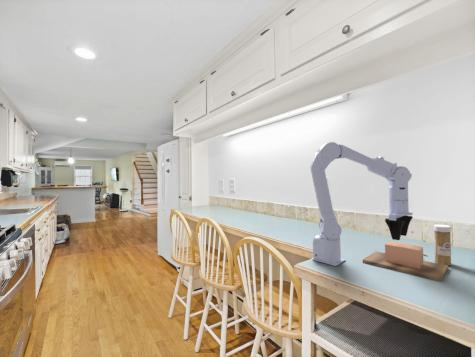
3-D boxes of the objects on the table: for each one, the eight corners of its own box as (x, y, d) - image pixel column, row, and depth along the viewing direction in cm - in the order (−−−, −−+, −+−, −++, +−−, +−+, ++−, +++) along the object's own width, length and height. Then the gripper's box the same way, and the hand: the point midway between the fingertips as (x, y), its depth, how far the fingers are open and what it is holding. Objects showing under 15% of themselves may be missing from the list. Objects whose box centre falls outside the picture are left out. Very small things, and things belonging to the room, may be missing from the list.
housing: (385, 261, 85) (384, 244, 85) (389, 257, 88) (389, 241, 88) (419, 268, 78) (419, 250, 78) (423, 264, 81) (423, 246, 81)
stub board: (362, 262, 87) (362, 251, 87) (375, 253, 96) (375, 243, 96) (440, 281, 71) (440, 267, 71) (448, 268, 79) (448, 256, 79)
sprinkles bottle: (444, 266, 81) (443, 227, 81) (431, 261, 85) (430, 224, 85) (455, 265, 82) (454, 226, 82) (441, 260, 86) (440, 223, 86)
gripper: (405, 202, 78) (406, 244, 78) (417, 198, 87) (418, 235, 87) (381, 201, 83) (382, 239, 83) (395, 197, 93) (396, 232, 93)
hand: (399, 237), depth 86 cm, fingers open, 7 cm apart
